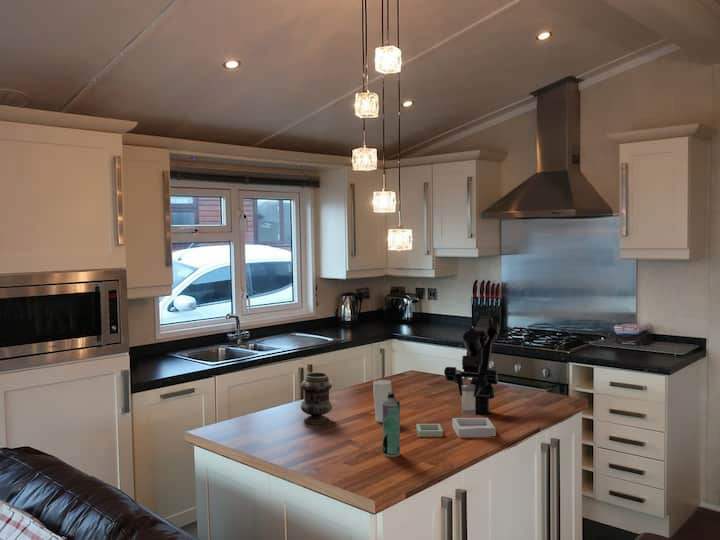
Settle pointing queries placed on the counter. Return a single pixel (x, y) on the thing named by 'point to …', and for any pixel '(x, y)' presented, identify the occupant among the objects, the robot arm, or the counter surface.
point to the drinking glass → (380, 397)
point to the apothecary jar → (316, 397)
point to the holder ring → (429, 430)
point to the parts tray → (473, 427)
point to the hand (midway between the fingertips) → (467, 395)
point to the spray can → (391, 426)
